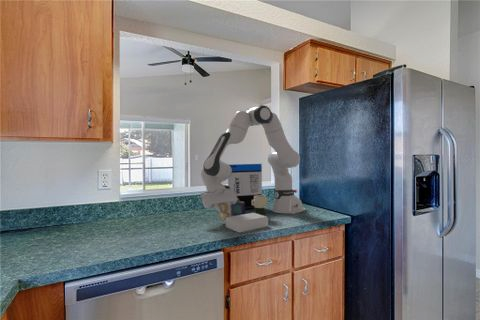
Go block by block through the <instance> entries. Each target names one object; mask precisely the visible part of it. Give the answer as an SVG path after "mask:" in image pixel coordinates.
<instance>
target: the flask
mask: <svg viewBox="0 0 480 320" xmlns="http://www.w3.org/2000/svg"><path fill="white" fill-rule="evenodd" d="M230 208H231V211H230V217H231V216H237V215H243V214H246V210H245V203H244V202H243V201H242V202H240V201H239V199H238V200H237V202H236V203H235V204H231V205H230Z"/></svg>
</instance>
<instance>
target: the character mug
mask: <svg viewBox="0 0 480 320" xmlns="http://www.w3.org/2000/svg"><path fill="white" fill-rule="evenodd" d="M253 201H254V204H253ZM268 204H269V198H267V195H265V194H262V195H255V196H254V200H252V206H254V207H256V209H254V210H255V212H254V213H256V214H260V215H263V216H266V209H265V208H267V205H268ZM266 217H267V216H266Z"/></svg>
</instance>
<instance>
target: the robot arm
mask: <svg viewBox="0 0 480 320" xmlns="http://www.w3.org/2000/svg"><path fill="white" fill-rule="evenodd" d="M253 126H254V127H255V126H262V128H263V130H264V134H265V137H266V139H267V143H268V145H269V147H271V148H272V149H273V150H274V151H270V153H268V156H267V162H268V163H269V165H270V166H271V168H272V169H271V170H272V172H273V177H274V188H273V196H274V198H273V207H272V210H271V211H272V212H273V213H277V214H290V215H291V214H293V215H294V214H298V213H301V212H305V211H306V210H307V208H305V207H304V206H303V203H302V200H301V199H300V198H299V197H297V195H295V194H296V193H297V192H298V190H297V189H293V177H292V175H291V174H290V172H289V170H288V169H291V168H295V167H297V166H298V165H299V164H300V162H301V157H300V153H298V152H297V151H296V150H294V148H292V146H291V145H290V143H289V141H288V140H287V137H286V134H285V133H284V132H285V131H284V128H283V127H282V123H281V121H280V119H279V116H277V114H276V113H275V112H272V111H271V109H270V108H269V107H268V105H263V104H262V105H261V104H260V105H256V106H253V107H251V108H247V109H246V110H237V111H236V112H235V114H234V115H233V117H232V118H231V121H230V122H229V125H228V128H227V129H226V130H225V131H224V132H223V133H221V135H220V136H219V138H218V140H217V141H216V143H215V145H214V147H213V149H212V150H211V152H210V154H209V155H208V156H207V158H206V159H205V160H204V163H203V165H202V167H203V168H202V170H201V172H200V175H201V179H202V182H203V184H204V187H205V189H206V191H202V192H201V193H200V194H199V195H200V196H199V198H200V199H201V201H202V205H203V208H205V209H210V208H214V209H215V210H216V211H217V212H218V213H219V214H220V213H222V208H219V204H229V205H231V204H235V203H236V202H237V200H238V199H237V196H236V195H235V193H234V191H232V190H231V186H228V184H226V185H225V184H223V183H224V182H225V181H226V180H227V181H228V178H229V177H230V176H231V173H232V169H231V166H230V165H231V164H229V163H226V162H224V161H223V160H221V158H222V156H223V154H224V152H225V150H226V149H227V147H228V146H230V145H237V144H240V143H243V141H244V140H245V138H246V136H247V133H248V130H249V128H250V127H253ZM230 211H231V208H230Z"/></svg>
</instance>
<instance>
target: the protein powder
mask: <svg viewBox="0 0 480 320" xmlns="http://www.w3.org/2000/svg"><path fill="white" fill-rule="evenodd" d="M229 165H230V166H231V169H232V173H231V176H230V177H229V178H228V179H227V186H231V190H232V191H234V193H235V195H236V196H237V199H239V201H240V202H242V201H243V202H244V203H245V211H251V210H256V207H254V206H252V200H254V196H255V195H263V192H262V190H263V188H262V187H263V184H262V183H263V180H262V179H263V172H262V171H263V170H262V169H263V167H262V166H263V165H262V163H251V164H250V163H247V164H246V163H242V164H234V163H233V164H229ZM253 204H254V201H253Z"/></svg>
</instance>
